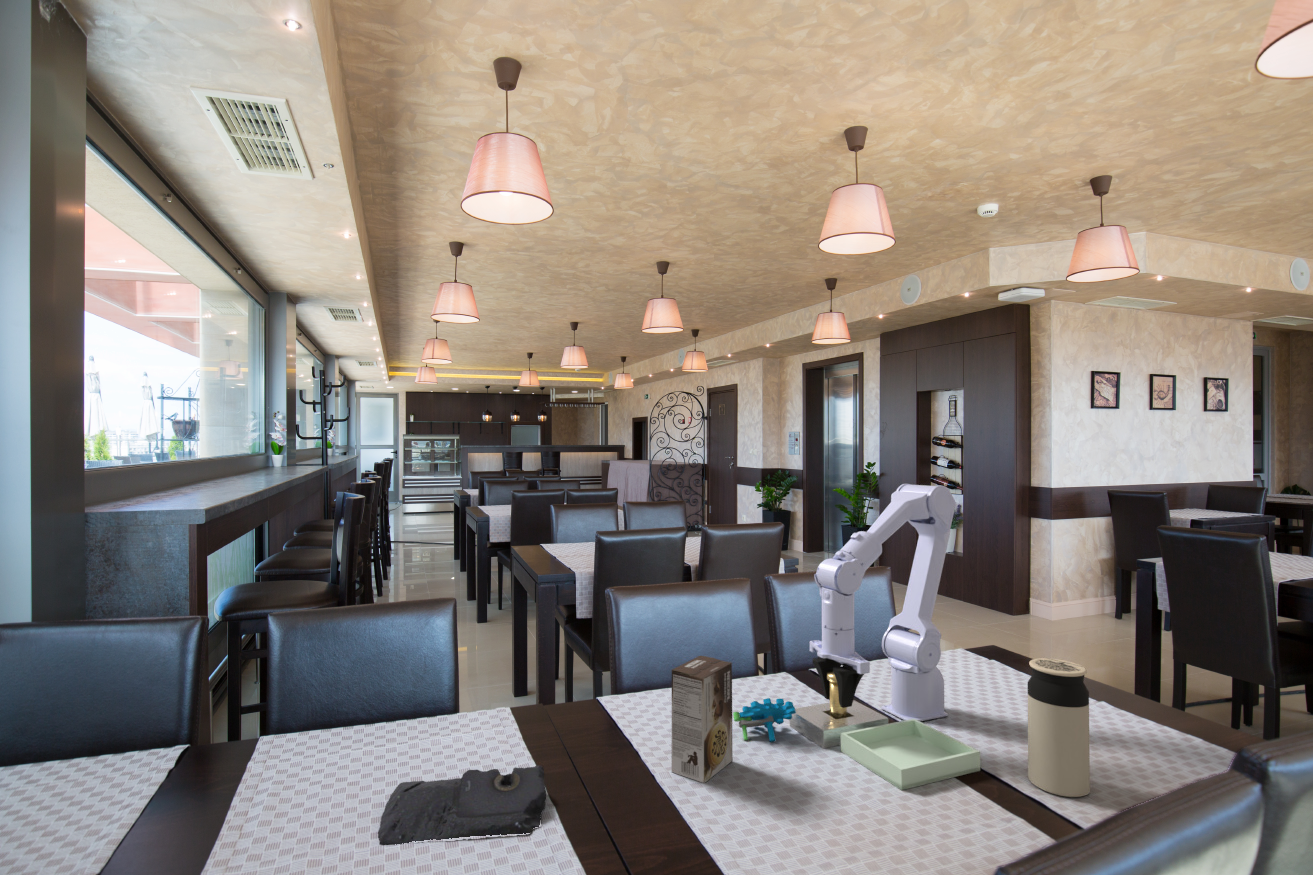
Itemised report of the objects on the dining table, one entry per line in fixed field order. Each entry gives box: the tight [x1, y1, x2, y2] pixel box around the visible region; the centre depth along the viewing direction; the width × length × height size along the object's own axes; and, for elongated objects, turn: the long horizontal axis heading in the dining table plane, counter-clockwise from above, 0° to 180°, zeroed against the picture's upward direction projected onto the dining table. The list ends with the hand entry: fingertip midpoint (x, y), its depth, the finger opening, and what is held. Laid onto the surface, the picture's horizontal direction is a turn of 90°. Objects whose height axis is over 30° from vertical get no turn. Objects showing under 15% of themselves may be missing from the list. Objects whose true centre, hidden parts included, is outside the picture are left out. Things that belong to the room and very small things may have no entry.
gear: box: [732, 697, 796, 743], centre depth 117 cm, size 11×6×10 cm
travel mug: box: [1027, 657, 1091, 798], centre depth 101 cm, size 8×8×18 cm
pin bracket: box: [789, 699, 889, 749], centre depth 120 cm, size 14×10×3 cm
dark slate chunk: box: [377, 764, 548, 846], centre depth 93 cm, size 15×22×5 cm
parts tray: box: [840, 719, 981, 791], centre depth 109 cm, size 16×14×3 cm
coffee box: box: [670, 655, 734, 784], centre depth 106 cm, size 9×6×16 cm
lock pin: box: [827, 670, 847, 719], centre depth 120 cm, size 4×4×10 cm
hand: (838, 701), depth 120 cm, fingers closed on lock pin, 4 cm apart
